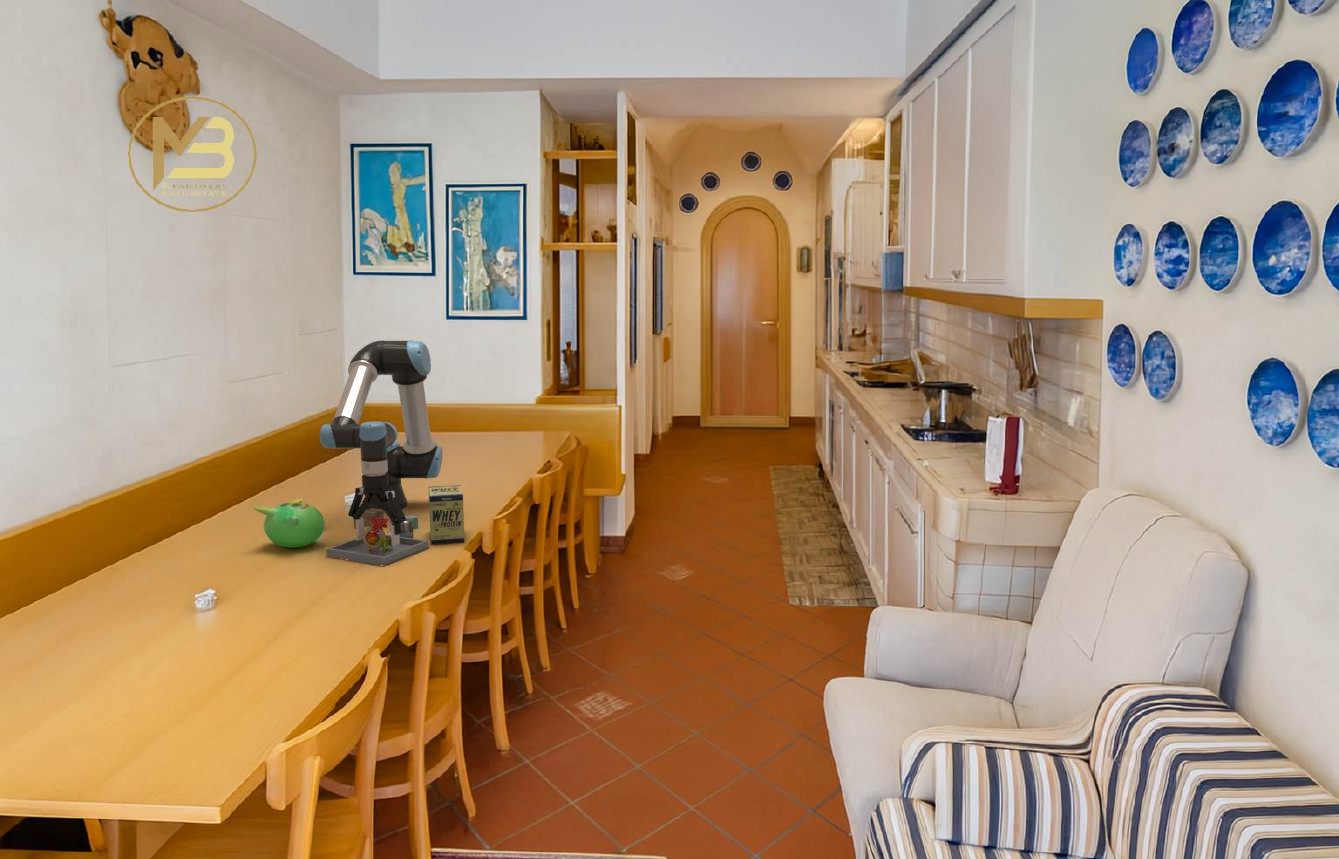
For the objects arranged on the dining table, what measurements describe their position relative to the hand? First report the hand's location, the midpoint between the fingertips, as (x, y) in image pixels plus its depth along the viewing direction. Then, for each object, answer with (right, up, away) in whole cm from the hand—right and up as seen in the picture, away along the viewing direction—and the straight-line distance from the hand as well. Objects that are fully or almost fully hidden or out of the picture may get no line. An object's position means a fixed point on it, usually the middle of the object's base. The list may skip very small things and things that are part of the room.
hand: (378, 542), depth 287 cm
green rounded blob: (-28, -2, +7) cm, 29 cm away
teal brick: (0, +1, +27) cm, 28 cm away
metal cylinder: (+4, -1, +16) cm, 17 cm away
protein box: (+17, -1, +18) cm, 25 cm away
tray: (0, -3, 0) cm, 3 cm away
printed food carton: (0, -3, 0) cm, 3 cm away
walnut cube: (-11, +2, +33) cm, 35 cm away
